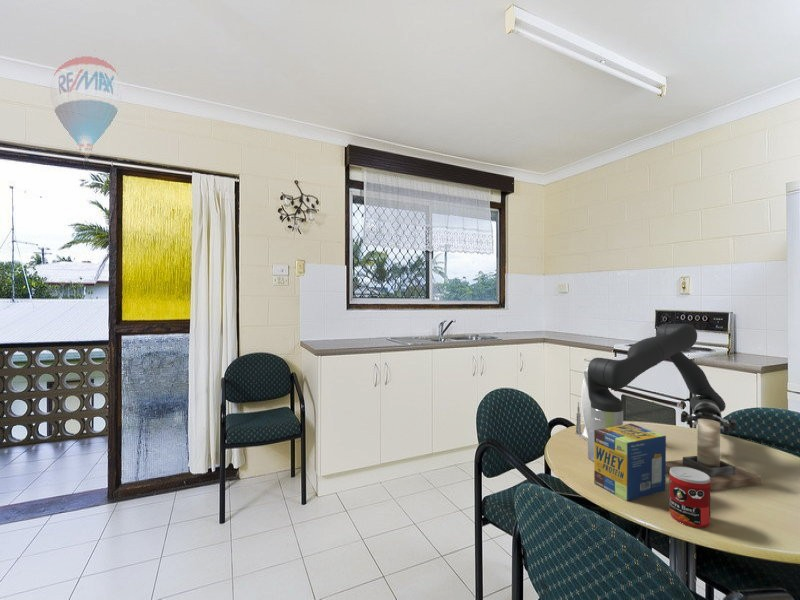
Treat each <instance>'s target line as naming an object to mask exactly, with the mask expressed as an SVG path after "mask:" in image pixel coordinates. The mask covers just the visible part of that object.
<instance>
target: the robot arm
mask: <svg viewBox="0 0 800 600" xmlns="http://www.w3.org/2000/svg"><path fill="white" fill-rule="evenodd" d="M697 340H698V332H697V330H696V329H695V327H694V326H693V325H691V324H688V323H669V324H667V323H666V324H661V325H659V327H657V330H656V336H650V337H647V338H643V339H641V340H639V341H637V342H635V343H633V344H632V345H631V346H630V347H628V349H627V357H626V358H624V359H612V358H611V359H610V358H604V357H593V358H592V359H591V360H590V361H589V363H588V367H587V368H588V373H587V376H588V394H589V399H590V402H591V429H589V430H588V440H587V458H588V459H589V460H591V461H592V462H594V430H598V429H604V428H609V427H615V426H621V425H624V402H623V401H622V399H620V398H619V397H617V396H616V395H614V393H613V392H611V391H610V389H613V390H621V389H623V388H625V387H626V386H628V385H630V383H631V382H633V381H634V380H635V379H636V378H637V377H638V376H640V375H641V374H643V373H645V372H646V371H648V370H649V369H651V368H654V367H655V366H657V365H659V364H660V363H662V362H663V361H665V360H667V359H670V361H671V362H672V364H673V365H674V366H675V368H676V369H677V370H678V371H679V373H680V375H681V376H682V379H683V381H684V383H685V385H686V387H687V389H688V391H689V392H690V393H691V394H692V395H695V396H692V397H690V399H689V405H690V408H691V409H692V410H693V413H689V412H687V411H685V410H683V411H682V412H681V414H680V422H681V423H686V424H687V425H689V427H692V428H693V425H695V426H698V419H710V420H714V421H717V422H719V423H720V430H723V433H727V432H730V430H731V431H733V432H736V431H737V421H736V419H735V418H733V417H730V418H728V419H725V418H724V417H722V412H724V411H725V410H726V402H725V401H724V399H723V398H722V397H721V396H720V395H719V393H718V392H717V391H716V390H715V389H714V388H713V387H712V386H711V384H710V382H709V380H708V377H707V375H706V373H705V372H704V370H703V369H702V368H701V367H700V366H699V365H698V364H697V363H695V362H694V361H693V360H692V359H690V358H689V357H688V356H686V355H685V353H683V352H682V351H686V350H688V349H690V348H692V347H693V346H694V345H696V343H697Z"/></svg>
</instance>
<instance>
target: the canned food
mask: <svg viewBox="0 0 800 600" xmlns="http://www.w3.org/2000/svg"><path fill="white" fill-rule="evenodd" d="M668 474H669V475H668V477H669V482H668V483H669V486H668V487H669V488H668V489H669V494H668V495H669V501H668V502H669V503H668V504H669V507H668V508H669V509H668V511H669V514H670V516H671V517H672V519H673V520H675V521H676V520H677V521H676V522H678V523H680V522H681V523H680V524H682V523H683V524H682V525H684V524H685V525H684V526H687V525H689V526H688V527H691V526H692V528H696V527H698V528H697V529H702V528H703V527H704V528H707V527H709V526H710V523H711V502H712V501H711V498H712V497H711V496H712V495H711V491H712V490H711V484H710V483H711V481H710V477H709V476H708V475H707V474H705V473H704V472H701V471H699V470H696V469H692V468H687V467H672V468H670V471H669V473H668ZM708 525H709V526H708Z"/></svg>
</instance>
